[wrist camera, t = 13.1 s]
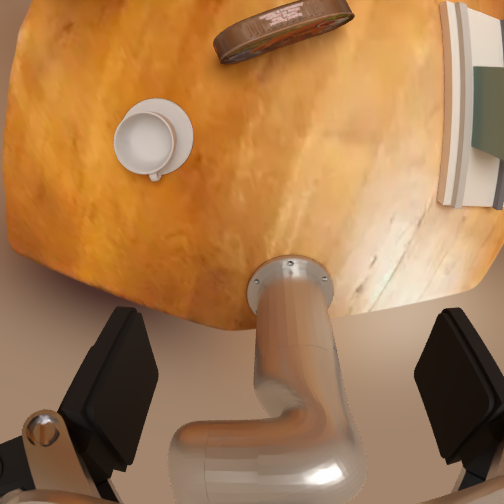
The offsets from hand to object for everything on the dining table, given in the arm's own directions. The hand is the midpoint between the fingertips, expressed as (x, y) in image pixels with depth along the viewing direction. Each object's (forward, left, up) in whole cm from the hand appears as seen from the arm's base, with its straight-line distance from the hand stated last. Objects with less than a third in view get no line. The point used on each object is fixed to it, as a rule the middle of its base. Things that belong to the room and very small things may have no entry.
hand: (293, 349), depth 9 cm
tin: (+14, -2, -32) cm, 35 cm away
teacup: (+3, +14, -32) cm, 35 cm away
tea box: (+7, -29, -30) cm, 42 cm away
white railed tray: (+7, -29, -32) cm, 43 cm away
